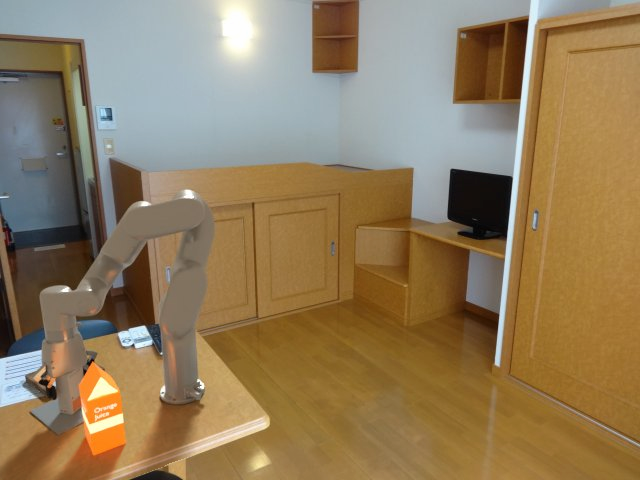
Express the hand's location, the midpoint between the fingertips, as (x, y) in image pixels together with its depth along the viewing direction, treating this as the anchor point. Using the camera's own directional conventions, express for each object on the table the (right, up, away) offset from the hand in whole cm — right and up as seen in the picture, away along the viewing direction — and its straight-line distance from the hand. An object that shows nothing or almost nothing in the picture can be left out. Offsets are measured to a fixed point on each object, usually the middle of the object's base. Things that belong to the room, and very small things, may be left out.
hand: (69, 390), depth 130 cm
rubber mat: (0, -6, +2) cm, 6 cm away
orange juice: (+14, -9, -10) cm, 20 cm away
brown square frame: (-10, -2, +17) cm, 20 cm away
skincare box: (0, -6, +2) cm, 6 cm away
